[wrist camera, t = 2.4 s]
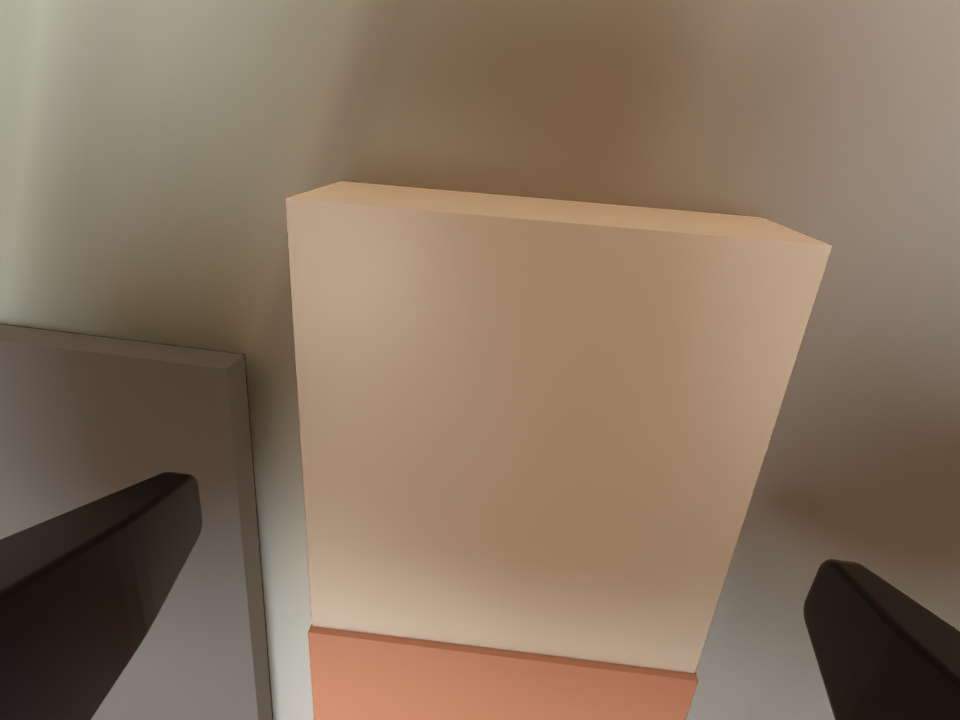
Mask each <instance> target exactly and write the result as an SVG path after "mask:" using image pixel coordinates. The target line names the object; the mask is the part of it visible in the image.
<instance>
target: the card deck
mask: <svg viewBox="0 0 960 720" xmlns="http://www.w3.org/2000/svg"><path fill="white" fill-rule="evenodd" d="M285 202H286V217H287V233H288V249H289V265H290V281H291V297H292V313H293V329H294V345H295V361H296V377H297V393H298V408H299V424H300V440H301V456H302V472H303V488H304V504H305V520H306V536H307V552H308V568H309V583H310V599H311V615H312V625H311V627H310V629H309V632H308V637H309V652H310V667H311V682H312V696H313V711H314V720H686V717H687V714H688V711H689V707H690V704H691V701H692V698H693V695H694V692H695V689H696V686H697V683H698V679H697V676H696V673H695V671H696V668H697V665H698V662H699V659H700V656H701V653H702V650H703V646H704V643H705V640H706V637H707V634H708V631H709V628H710V625H711V622H712V618H713V615H714V612H715V609H716V606H717V603H718V600H719V597H720V594H721V591H722V587H723V584H724V581H725V578H726V575H727V572H728V569H729V566H730V563H731V560H732V556H733V553H734V550H735V547H736V544H737V541H738V538H739V535H740V532H741V528H742V525H743V522H744V519H745V516H746V513H747V510H748V507H749V504H750V501H751V497H752V494H753V491H754V488H755V485H756V482H757V479H758V476H759V473H760V469H761V466H762V463H763V460H764V457H765V454H766V451H767V448H768V445H769V442H770V438H771V435H772V432H773V429H774V426H775V423H776V420H777V417H778V414H779V411H780V407H781V404H782V401H783V398H784V395H785V392H786V389H787V386H788V383H789V379H790V376H791V373H792V370H793V367H794V364H795V361H796V358H797V355H798V352H799V348H800V345H801V342H802V339H803V336H804V333H805V330H806V327H807V324H808V320H809V317H810V314H811V311H812V308H813V305H814V302H815V299H816V296H817V293H818V289H819V286H820V283H821V280H822V277H823V274H824V271H825V268H826V265H827V261H828V258H829V255H830V252H831V249H832V246H831V245H829V244H826V243H824V242H822V241H819V240H817V239H814V238H812V237H809V236H807V235H804V234H802V233H799V232H797V231H795V230H792V229H790V228H787V227H785V226H782V225H780V224H777V223H775V222H772V221H770V220H768V219H765V218H763V217H754V216H742V215H730V214H719V213H707V212H695V211H684V210H672V209H660V208H649V207H637V206H625V205H614V204H602V203H591V202H579V201H567V200H556V199H544V198H532V197H521V196H509V195H497V194H486V193H474V192H462V191H451V190H439V189H428V188H416V187H404V186H393V185H381V184H369V183H358V182H346V181H340V182H336V183H333V184H330V185H327V186H323V187H320V188H317V189H313V190H310V191H307V192H304V193H300V194H297V195H294V196H291V197H287V198H285Z"/></svg>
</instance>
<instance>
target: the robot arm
mask: <svg viewBox="0 0 960 720" xmlns="http://www.w3.org/2000/svg"><path fill="white" fill-rule="evenodd" d="M202 525H203V517H202V509H201V501H200V493H199V485H198V481H197V479H196V478H195V477H194V476H193V475H190V474H184V473H176V472H164V473H161V474H158V475H156V476H153V477H151V478H149V479H146V480H144V481H141V482H139V483H136V484H134V485H132V486H129V487H127V488H124V489H122V490H119V491H117V492H115V493H112V494H110V495H107V496H105V497H102V498H100V499H98V500H95V501H93V502H90V503H88V504H85V505H83V506H81V507H78V508H76V509H73V510H71V511H68V512H66V513H64V514H61V515H59V516H56V517H54V518H51V519H49V520H47V521H44V522H42V523H39V524H37V525H34V526H32V527H30V528H27V529H25V530H22V531H20V532H17V533H15V534H13V535H10V536H8V537H5V538H3V539H0V720H91V719H92V718H93V716H94V715H95V713H96V711H97V710H98V708H99V707H100V705H101V704H102V702H103V701H104V699H105V698H106V696H107V695H108V693H109V692H110V690H111V689H112V687H113V686H114V684H115V683H116V681H117V680H118V678H119V677H120V675H121V674H122V672H123V671H124V669H125V668H126V666H127V665H128V663H129V662H130V660H131V659H132V657H133V655H134V654H135V652H136V651H137V649H138V648H139V646H140V645H141V643H142V641H143V640H144V638H145V637H146V635H147V634H148V632H149V630H150V628H151V626H152V625H153V623H154V621H155V619H156V618H157V616H158V614H159V612H160V610H161V608H162V606H163V604H164V603H165V601H166V599H167V597H168V595H169V593H170V591H171V589H172V587H173V586H174V584H175V582H176V580H177V578H178V576H179V574H180V572H181V570H182V568H183V567H184V565H185V563H186V561H187V559H188V557H189V555H190V553H191V551H192V550H193V548H194V546H195V544H196V542H197V540H198V538H199V536H200V533H201V530H202ZM804 619H805V623H806V626H807V629H808V633H809V636H810V639H811V643H812V646H813V649H814V652H815V656H816V659H817V662H818V665H819V669H820V672H821V675H822V678H823V682H824V685H825V688H826V691H827V695H828V698H829V701H830V704H831V708H832V711H833V714H834V717H835V720H960V631H958V630H957V629H955V628H954V627H952V626H951V625H949V624H948V623H946V622H945V621H943V620H942V619H940V618H939V617H937V616H936V615H935V614H933V613H932V612H930V611H929V610H927V609H926V608H924V607H923V606H921V605H920V604H918V603H917V602H915V601H914V600H912V599H911V598H910V597H908V596H907V595H905V594H904V593H902V592H901V591H899V590H898V589H896V588H895V587H893V586H892V585H890V584H889V583H887V582H886V581H885V580H883V579H882V578H880V577H879V576H877V575H876V574H874V573H873V572H871V571H870V570H868V569H867V568H865V567H864V566H862V565H861V564H858V563H855V562H849V561H841V560H834V559H829V560H826V561H824V562H823V563H822V564H821V566H820V568H819V570H818V572H817V574H816V577H815V579H814V581H813V584H812V586H811V588H810V591H809V593H808V595H807V598H806V600H805V603H804Z"/></svg>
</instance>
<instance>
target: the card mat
mask: <svg viewBox="0 0 960 720" xmlns="http://www.w3.org/2000/svg"><path fill="white" fill-rule="evenodd" d="M164 472H176V473H184V474H190V475H193V476H194V477H195V478H196V479H197V481H198V485H199V493H200V501H201V509H202V517H203V525H202V530H201V533H200V536H199V538H198V540H197V542H196V544H195V546H194V548H193V550H192V551H191V553H190V555H189V557H188V559H187V561H186V563H185V565H184V567H183V568H182V570H181V572H180V574H179V576H178V578H177V580H176V582H175V584H174V586H173V587H172V589H171V591H170V593H169V595H168V597H167V599H166V601H165V603H164V604H163V606H162V608H161V610H160V612H159V614H158V616H157V618H156V619H155V621H154V623H153V625H152V626H151V628H150V630H149V632H148V634H147V635H146V637H145V638H144V640H143V641H142V643H141V645H140V646H139V648H138V649H137V651H136V652H135V654H134V655H133V657H132V659H131V660H130V662H129V663H128V665H127V666H126V668H125V669H124V671H123V672H122V674H121V675H120V677H119V678H118V680H117V681H116V683H115V684H114V686H113V687H112V689H111V690H110V692H109V693H108V695H107V696H106V698H105V699H104V701H103V702H102V704H101V705H100V707H99V708H98V710H97V711H96V713H95V715H94V716H93V718H92V719H91V720H272V708H271V695H270V682H269V669H268V656H267V643H266V630H265V617H264V604H263V591H262V578H261V565H260V552H259V539H258V526H257V513H256V500H255V487H254V474H253V461H252V448H251V435H250V422H249V409H248V396H247V383H246V370H245V357H244V354H237V353H228V352H220V351H212V350H204V349H196V348H188V347H180V346H172V345H164V344H156V343H148V342H139V341H131V340H123V339H115V338H107V337H99V336H91V335H83V334H75V333H67V332H59V331H51V330H42V329H34V328H26V327H18V326H10V325H2V324H0V539H3V538H5V537H8V536H10V535H13V534H15V533H17V532H20V531H22V530H25V529H27V528H30V527H32V526H34V525H37V524H39V523H42V522H44V521H47V520H49V519H51V518H54V517H56V516H59V515H61V514H64V513H66V512H68V511H71V510H73V509H76V508H78V507H81V506H83V505H85V504H88V503H90V502H93V501H95V500H98V499H100V498H102V497H105V496H107V495H110V494H112V493H115V492H117V491H119V490H122V489H124V488H127V487H129V486H132V485H134V484H136V483H139V482H141V481H144V480H146V479H149V478H151V477H153V476H156V475H158V474H161V473H164Z"/></svg>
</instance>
